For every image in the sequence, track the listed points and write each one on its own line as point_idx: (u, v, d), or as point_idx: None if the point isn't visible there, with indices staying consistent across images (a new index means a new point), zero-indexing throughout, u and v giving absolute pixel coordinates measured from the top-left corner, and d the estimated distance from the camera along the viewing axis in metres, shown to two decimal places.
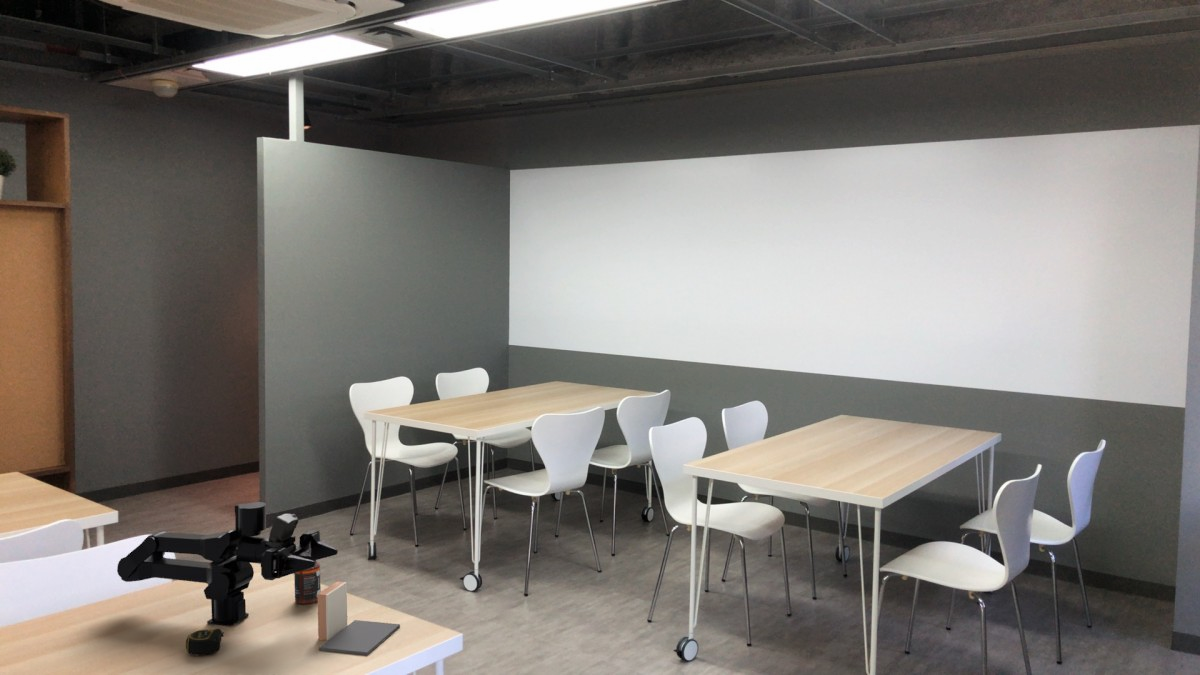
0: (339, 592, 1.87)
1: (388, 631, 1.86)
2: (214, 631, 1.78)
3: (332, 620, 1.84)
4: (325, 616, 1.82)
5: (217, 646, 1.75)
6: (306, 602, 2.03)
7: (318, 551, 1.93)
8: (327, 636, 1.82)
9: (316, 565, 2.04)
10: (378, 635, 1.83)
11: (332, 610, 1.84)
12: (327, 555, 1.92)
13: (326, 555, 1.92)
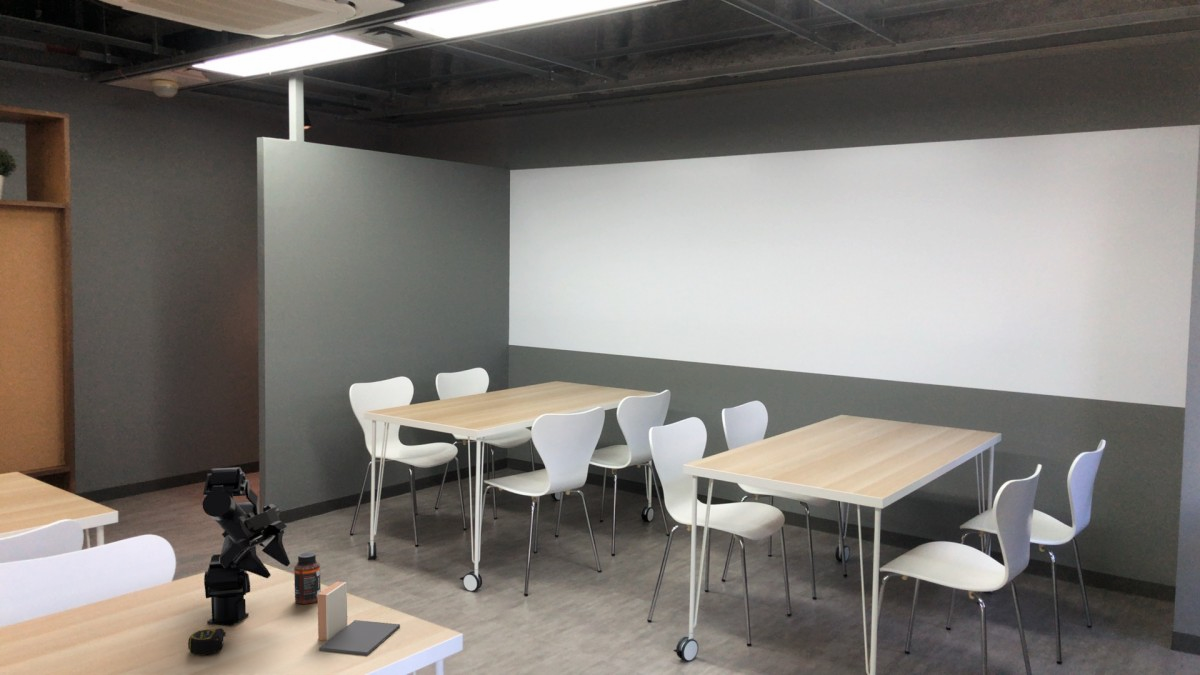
0: (339, 592, 1.87)
1: (388, 631, 1.86)
2: (216, 631, 1.79)
3: (332, 620, 1.84)
4: (325, 616, 1.82)
5: (219, 645, 1.75)
6: (306, 602, 2.03)
7: (274, 550, 1.94)
8: (327, 636, 1.82)
9: (316, 565, 2.04)
10: (378, 635, 1.83)
11: (332, 610, 1.84)
12: (278, 560, 1.94)
13: (278, 559, 1.94)
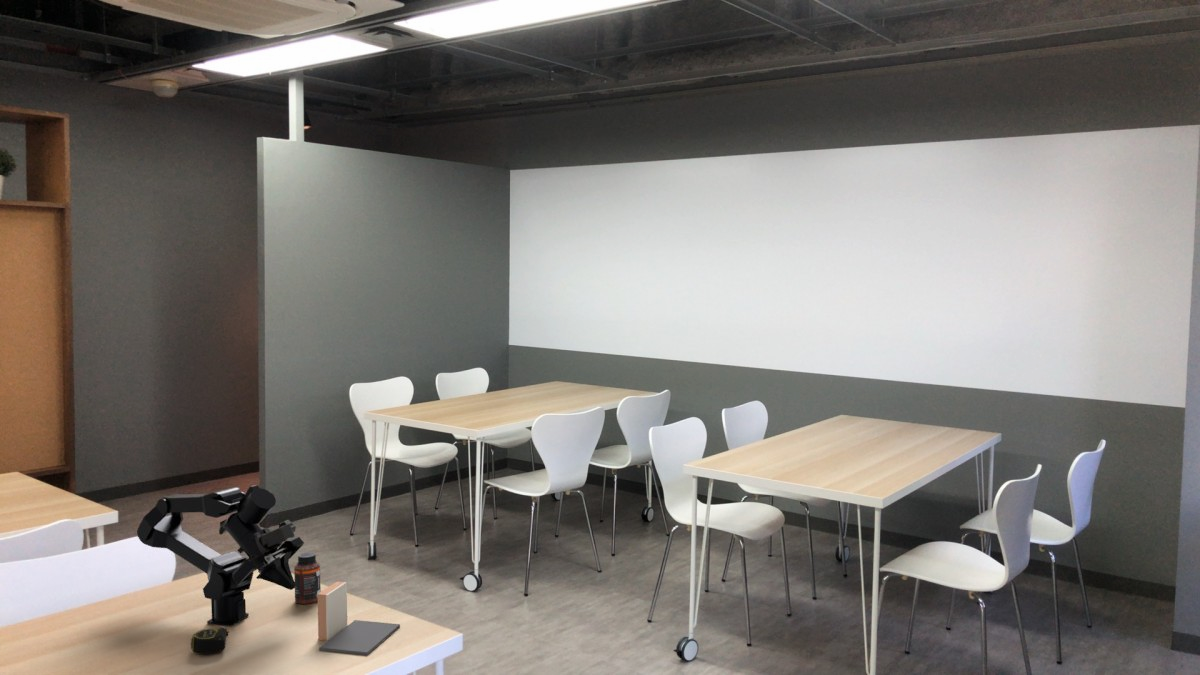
0: (339, 592, 1.87)
1: (388, 631, 1.86)
2: (219, 631, 1.79)
3: (332, 620, 1.84)
4: (325, 616, 1.82)
5: (222, 645, 1.75)
6: (306, 602, 2.03)
7: None
8: (327, 636, 1.82)
9: (316, 565, 2.04)
10: (378, 635, 1.83)
11: (332, 610, 1.84)
12: None
13: None
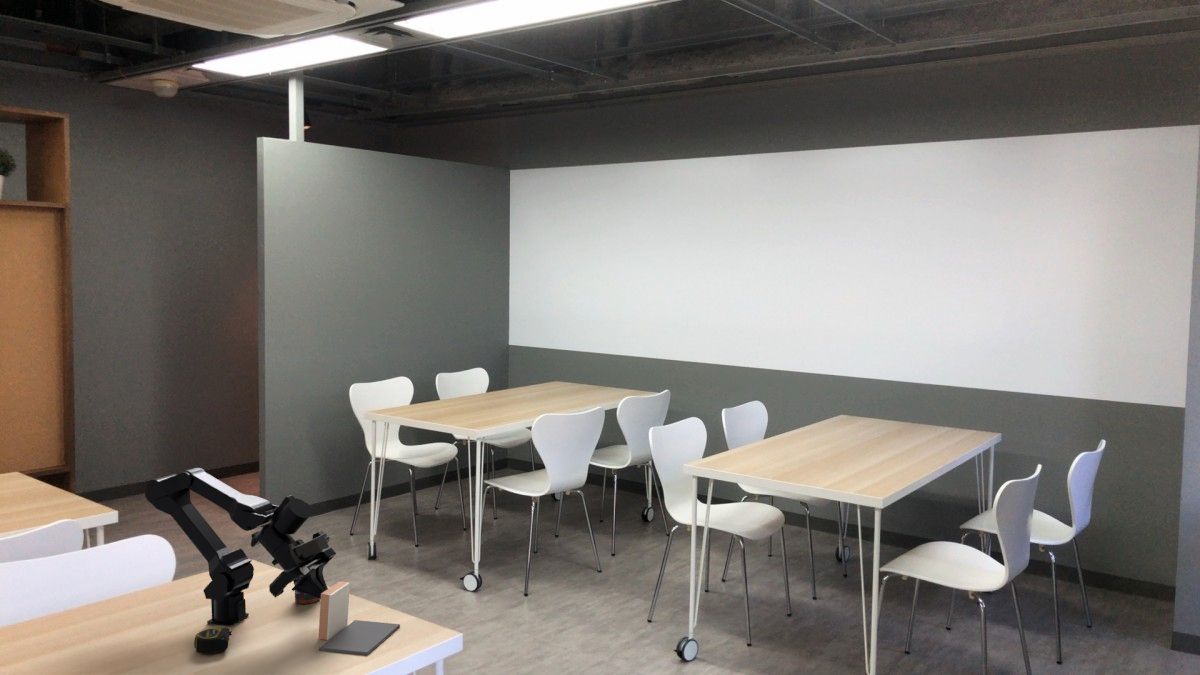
0: (342, 592, 1.87)
1: (388, 631, 1.86)
2: (222, 630, 1.79)
3: (333, 620, 1.84)
4: (327, 616, 1.82)
5: (225, 644, 1.75)
6: (306, 602, 2.03)
7: None
8: (327, 636, 1.82)
9: None
10: (378, 635, 1.83)
11: (334, 610, 1.84)
12: None
13: None
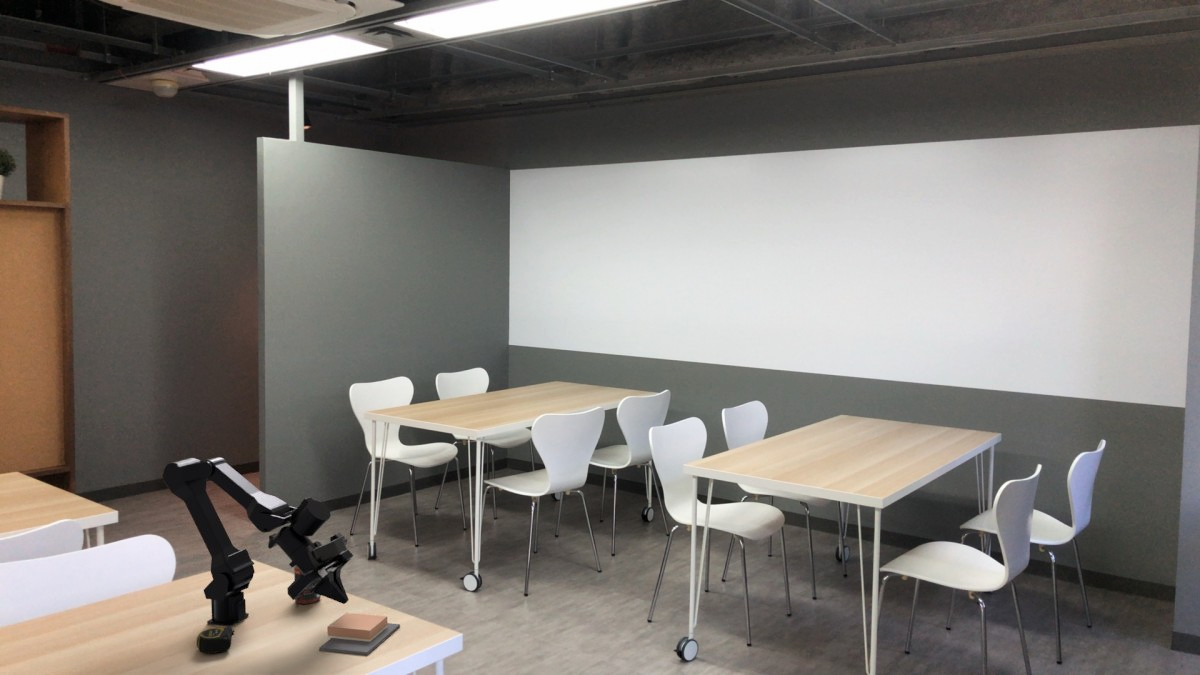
0: None
1: (388, 631, 1.86)
2: (225, 630, 1.79)
3: None
4: (349, 637, 1.81)
5: (227, 644, 1.76)
6: (306, 602, 2.03)
7: None
8: (331, 636, 1.82)
9: None
10: (378, 635, 1.83)
11: None
12: None
13: None
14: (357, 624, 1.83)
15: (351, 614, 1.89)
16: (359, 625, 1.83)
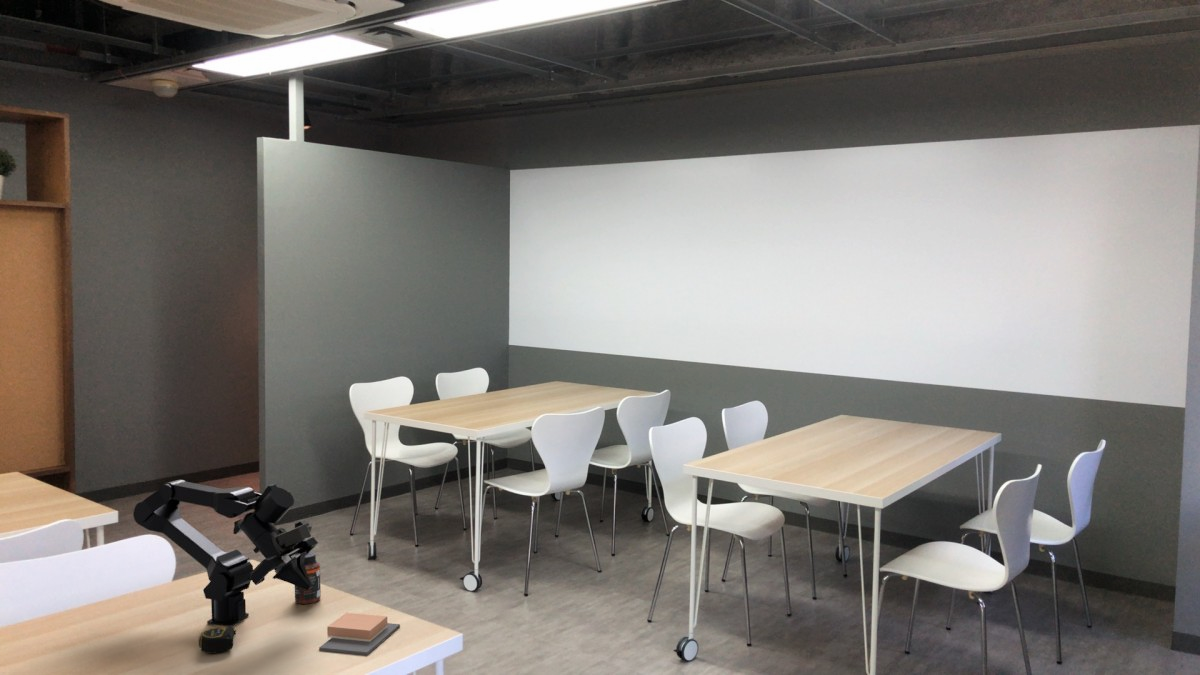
0: None
1: (388, 631, 1.86)
2: (227, 629, 1.80)
3: None
4: (349, 637, 1.81)
5: (230, 643, 1.76)
6: (306, 602, 2.03)
7: None
8: (331, 636, 1.82)
9: (316, 565, 2.04)
10: (378, 635, 1.83)
11: None
12: None
13: None
14: (357, 624, 1.83)
15: (351, 614, 1.89)
16: (359, 625, 1.83)
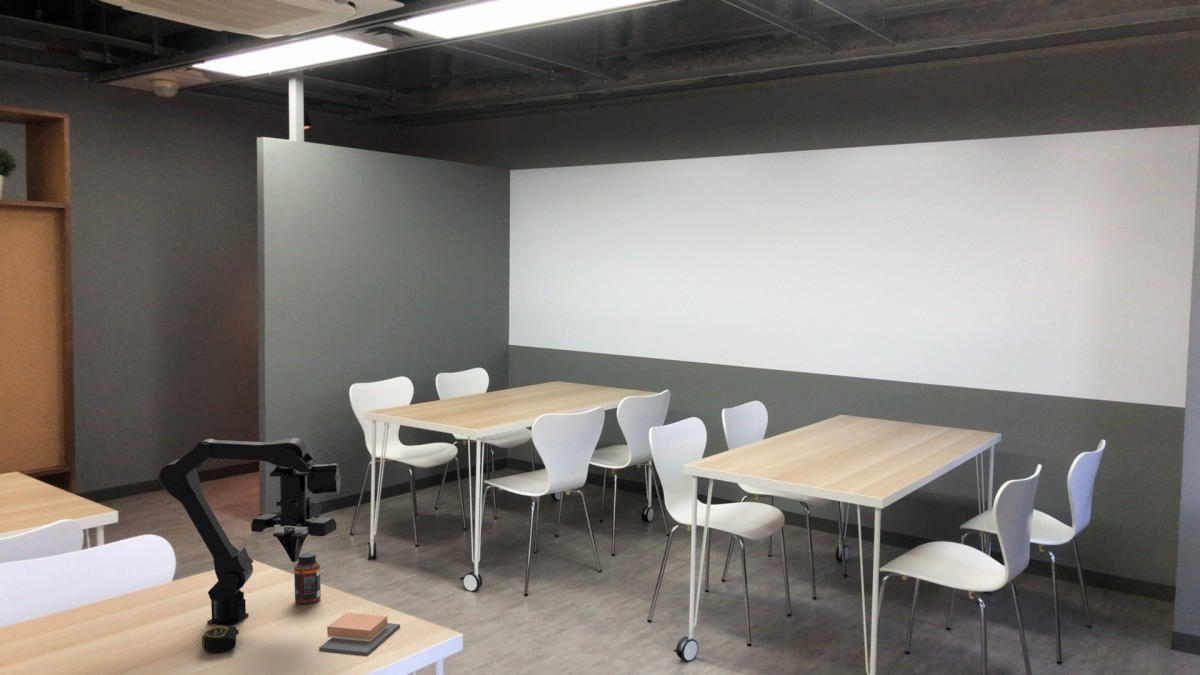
0: None
1: (388, 631, 1.86)
2: (230, 629, 1.80)
3: None
4: (349, 637, 1.81)
5: (232, 643, 1.76)
6: (306, 602, 2.03)
7: None
8: (331, 636, 1.82)
9: (316, 565, 2.04)
10: (378, 635, 1.83)
11: None
12: (291, 552, 1.93)
13: (290, 551, 1.93)
14: (357, 624, 1.83)
15: (351, 614, 1.89)
16: (359, 625, 1.83)
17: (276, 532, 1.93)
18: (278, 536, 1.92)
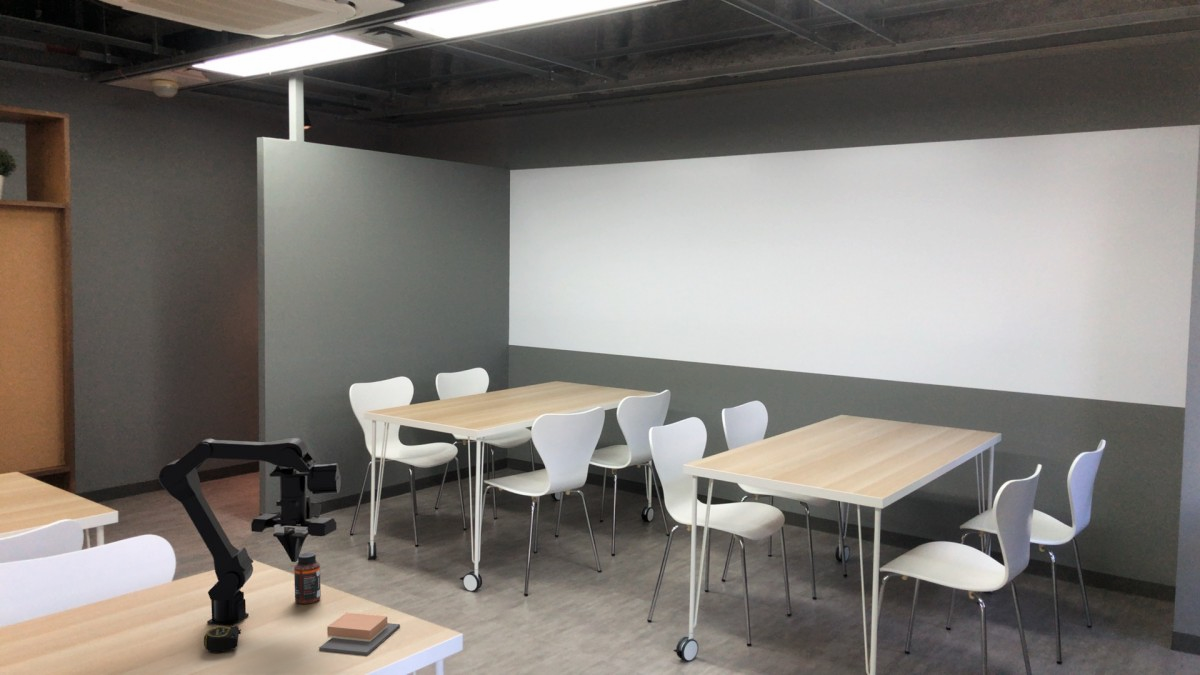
0: None
1: (388, 631, 1.86)
2: (232, 629, 1.80)
3: None
4: (349, 637, 1.81)
5: (234, 643, 1.76)
6: (306, 602, 2.03)
7: None
8: (331, 636, 1.82)
9: (316, 565, 2.04)
10: (378, 635, 1.83)
11: None
12: (291, 552, 1.93)
13: (290, 551, 1.93)
14: (357, 624, 1.83)
15: (351, 614, 1.89)
16: (359, 625, 1.83)
17: (276, 532, 1.93)
18: (278, 536, 1.92)
